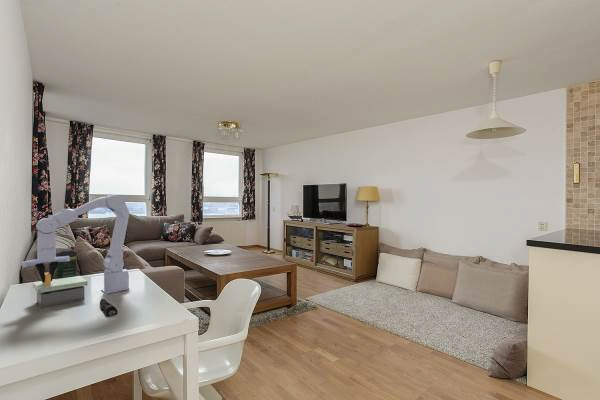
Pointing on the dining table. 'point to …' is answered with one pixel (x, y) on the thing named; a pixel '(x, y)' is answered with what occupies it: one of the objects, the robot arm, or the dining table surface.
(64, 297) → the tub
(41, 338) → the dining table surface
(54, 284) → the lid
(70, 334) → the dining table surface
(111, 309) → the electric trimmer
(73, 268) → the coffee jar
